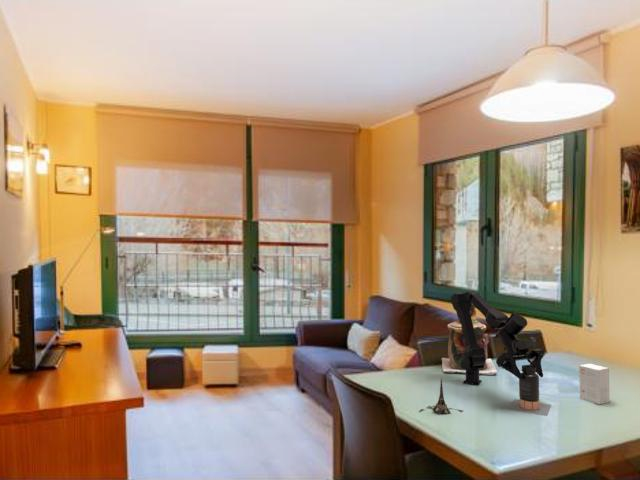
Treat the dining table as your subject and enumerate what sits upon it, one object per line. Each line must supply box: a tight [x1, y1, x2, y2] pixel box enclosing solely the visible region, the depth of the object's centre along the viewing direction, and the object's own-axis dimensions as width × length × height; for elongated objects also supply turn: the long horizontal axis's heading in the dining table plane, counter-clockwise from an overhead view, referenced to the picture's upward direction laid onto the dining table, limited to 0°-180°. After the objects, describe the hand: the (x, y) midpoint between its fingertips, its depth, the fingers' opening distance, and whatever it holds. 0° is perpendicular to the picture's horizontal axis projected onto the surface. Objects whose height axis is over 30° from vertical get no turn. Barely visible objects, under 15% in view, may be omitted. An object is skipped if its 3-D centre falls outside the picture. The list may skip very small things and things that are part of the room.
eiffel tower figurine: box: [418, 378, 464, 416], centre depth 173 cm, size 15×10×13 cm
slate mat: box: [507, 398, 552, 417], centre depth 176 cm, size 13×13×1 cm
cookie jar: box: [441, 304, 498, 376], centre depth 231 cm, size 25×25×32 cm
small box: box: [578, 363, 611, 405], centre depth 183 cm, size 8×6×13 cm
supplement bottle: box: [518, 364, 540, 401], centre depth 176 cm, size 7×7×12 cm
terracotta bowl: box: [519, 397, 541, 410], centre depth 176 cm, size 7×7×3 cm
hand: (532, 378), depth 175 cm, fingers open, 9 cm apart
